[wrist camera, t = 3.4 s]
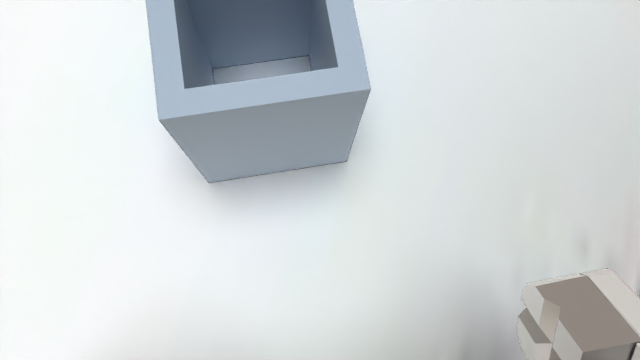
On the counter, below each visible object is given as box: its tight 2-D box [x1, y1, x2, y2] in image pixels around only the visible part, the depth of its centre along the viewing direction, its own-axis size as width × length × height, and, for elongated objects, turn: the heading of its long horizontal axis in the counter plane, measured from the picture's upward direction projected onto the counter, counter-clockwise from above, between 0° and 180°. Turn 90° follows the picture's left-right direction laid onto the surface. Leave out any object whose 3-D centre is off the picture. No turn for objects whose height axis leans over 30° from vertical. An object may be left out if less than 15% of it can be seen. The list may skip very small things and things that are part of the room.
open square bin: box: [146, 0, 371, 183], centre depth 19 cm, size 9×6×8 cm, turn 10°
